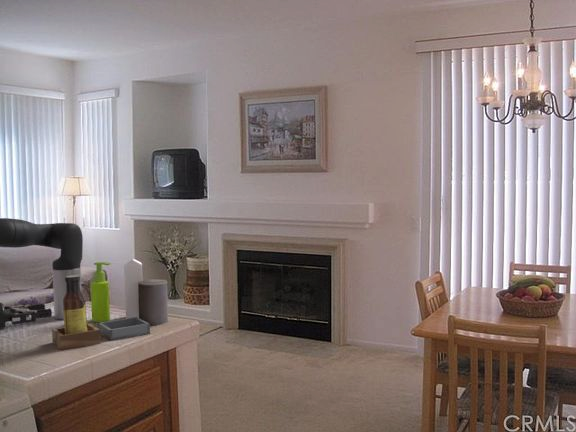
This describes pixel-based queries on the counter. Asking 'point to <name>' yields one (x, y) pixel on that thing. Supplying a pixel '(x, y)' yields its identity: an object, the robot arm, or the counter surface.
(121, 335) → the tray
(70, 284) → the sauce bottle
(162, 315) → the pillar candle
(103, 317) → the soap dispenser
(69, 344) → the collar
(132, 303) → the milk
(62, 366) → the counter surface
